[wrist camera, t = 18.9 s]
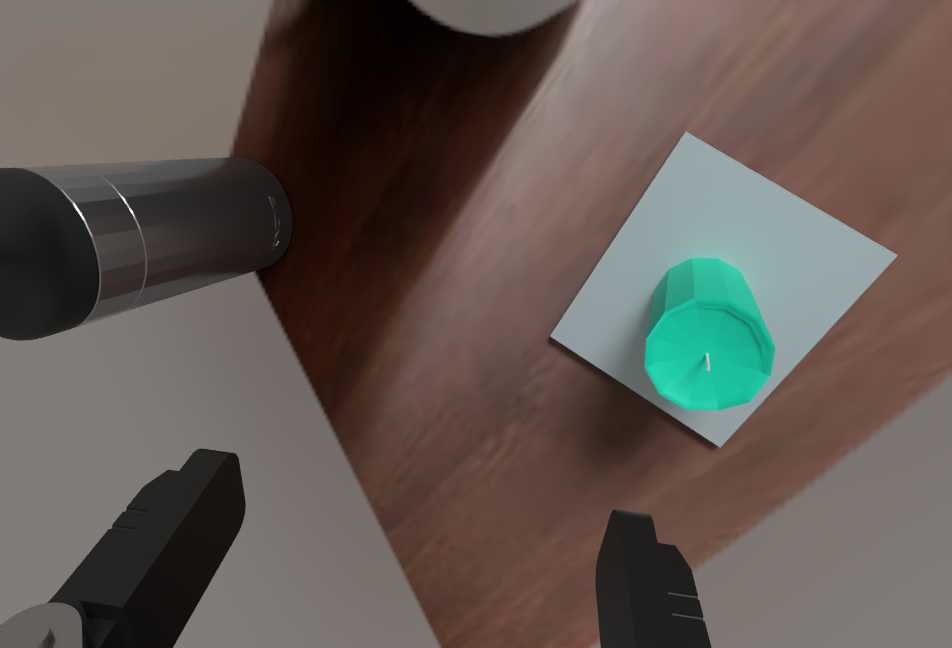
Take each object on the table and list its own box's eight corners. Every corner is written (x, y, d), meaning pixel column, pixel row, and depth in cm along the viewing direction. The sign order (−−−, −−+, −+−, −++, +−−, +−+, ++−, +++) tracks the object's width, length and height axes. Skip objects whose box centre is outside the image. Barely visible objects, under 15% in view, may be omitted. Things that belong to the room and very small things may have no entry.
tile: (719, 442, 40) (720, 447, 40) (552, 332, 42) (549, 336, 41) (893, 252, 34) (897, 255, 33) (685, 131, 35) (685, 131, 35)
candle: (641, 329, 39) (624, 402, 28) (670, 244, 37) (665, 290, 26) (731, 357, 38) (750, 446, 27) (768, 271, 35) (804, 331, 25)
